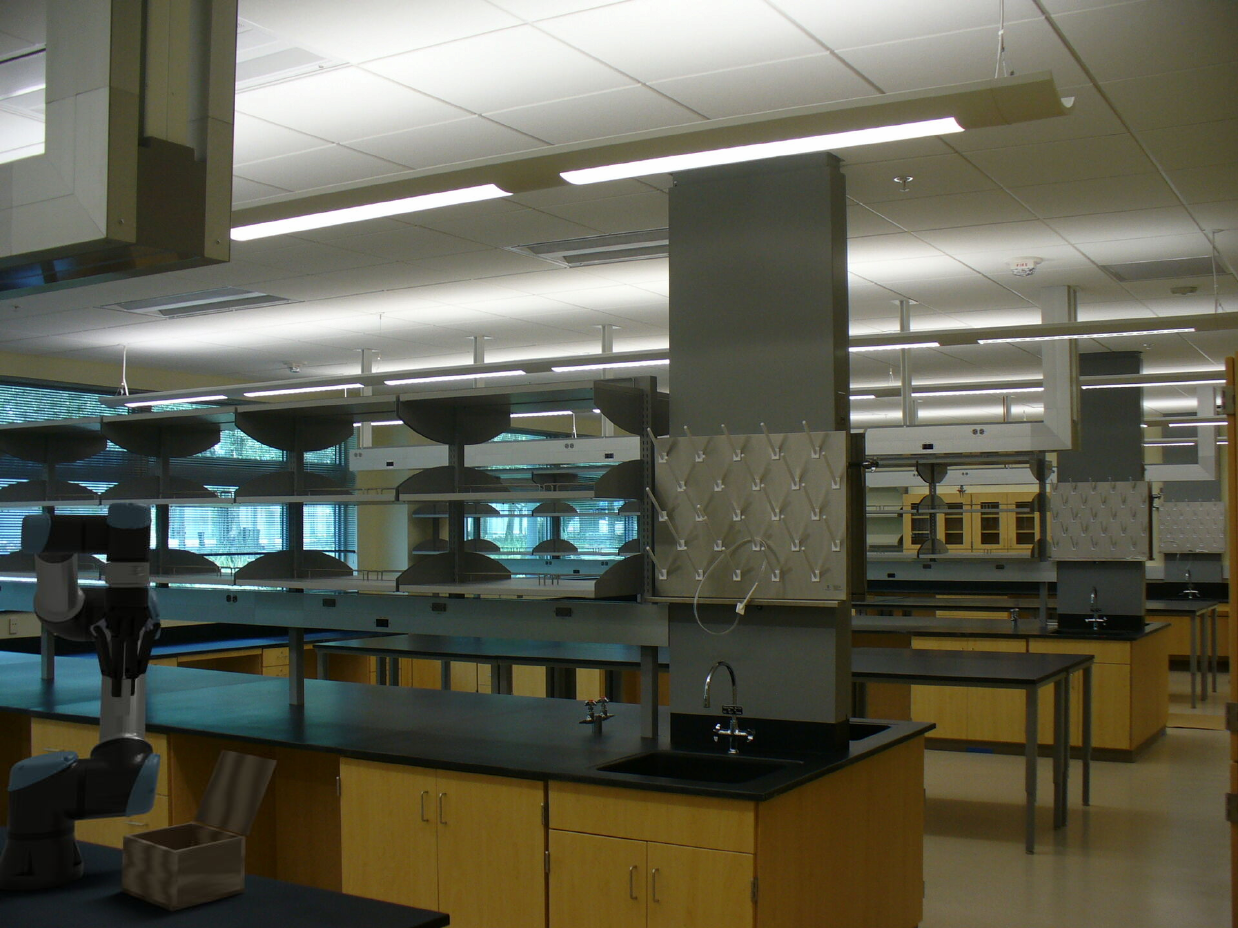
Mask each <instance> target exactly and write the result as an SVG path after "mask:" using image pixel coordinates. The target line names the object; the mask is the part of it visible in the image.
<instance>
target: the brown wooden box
mask: <svg viewBox="0 0 1238 928" xmlns="http://www.w3.org/2000/svg"><path fill="white" fill-rule="evenodd" d="M121 858H122V862H121V863H122V864H121V886H120V887H121V890H120V892H121V893H124V894H127V895H130V896H133V897H135V898H138V899H140V900H143V901H145V902H148V903H151V904H153V905H155V906H158V907H161V908H163V909H166V910H168V911H171V912H173V911H174V912H175V911H177V910H181V909H185V908H189V907H193V906H198V905H201V904H205V903H209V902H213V901H217V900H220V899H226V898H229V897H232V896H235V895H236V896H237V895H240V894H243V893H245V875H246V874H245V871H246V870H245V869H246V835H242V834H239V833H235V832H232V831H231V832H230V831H228V830H225V829H221V828H218V827H214V826H211V825H207V824H203V823H200V822H196V821H192V822H186V823H181V824H176V825H172V826H167V827H161V828H156V829H150V830H146V831H140V832H136V833H135V832H134V833H131V834H125V835H123V837H122V857H121Z"/></svg>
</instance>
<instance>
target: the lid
mask: <svg viewBox="0 0 1238 928" xmlns="http://www.w3.org/2000/svg"><path fill="white" fill-rule="evenodd" d="M277 762H278V761H277V760H275V759H271V758H265V757H260V756H256V755H252V754H246V753H242V752H236V751H231V750H225V749H222V750H221V751H220V755H219V756H218V760H217V762H216V764H215V766H214V769H213V771H212V774H211V776H210V779H209V781H208V783H207V784H208V785H207V787H206V788H205V792H204V794H203V796H202V799H201V802H200V803H199V806H198V808H197V812H196V814H195V816H194V819H193V822H196V823H200V824H203V825H207V826H211V827H214V828H218V829H221V830H225V831H228V832H230V831H231V832H232V833H235V834H239V835H242V836H247V837H248V836H249V835H250V832H251V830H252V827H253V824H254V822H255V819H256V817H257V813H258V811H259V809H260V806H261V803H262V801H263V798H264V796H265V793H266V790H267V788H268V786H269V782H270V780H271V778H272V775H273V772H274V770H275V768H276V765H277Z"/></svg>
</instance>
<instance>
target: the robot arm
mask: <svg viewBox="0 0 1238 928" xmlns="http://www.w3.org/2000/svg"><path fill="white" fill-rule="evenodd" d="M152 521H153V519H152V508H151V505H150V504H149V503H146V502H112V503H110V504H109V505H108V507H107V514H73V513H72V514H68V513H67V514H66V513H65V514H63V513H48V512H47V513H46V512H43V513H35V514H30V513H29V514H26V515H25V516H24V517H23V518H22V520H21V528H20V549H21V551H22V553H24V554H29V555H32V554H33V555H34V564H35V577H36V586H37V589H36V592H35V593H34V596H33V600H32V602H33V603H32V606H33V611H34V612H33V613H34V614H35V616H36V618H37V620H38V621H39V623H41V624H42V625H43V626H44V627H45V628H46V629H48V631H50V632H51V633H53V634H55V635H57V636H59V637H62V638H63V639H66V640H70V641H73V642H74V641H76V642H94V645H95V649H96V655H97V661H98V666H99V671H100V674H101V680H100V681H101V685H100V687H101V688H100V705H99V706H100V708H99V709H100V711H99V736H98V743H97V744H96V745H94V746H93V748H92V749H91V750H90V753H89V754H90V755H89V757H86V758H79V755H78V752H77V751H76V750H75V751H74V750H67V751H56V752H48V753H43V754H40V755H35V756H31V757H28V758H25V759H23V760H20V761H18V762H16V763H15V764H14V765H13V766H12V767H11V768H10V772H9V773H10V774H9V781H8V787H7V791H8V802H7V803H8V808H7V825H6V842H5V845H4V847H3V850H2V853H1V855H0V889H1V890H4V891H5V890H6V891H33V890H34V891H36V890H43V889H49V888H54V887H58V886H59V887H60V886H63V885H67V884H70V883H73V882H76V881H78V880H79V879H81V878H82V877H83V876H84V862H83V857H82V854H81V851H80V848H79V845H78V842H77V838H76V833H75V827H76V825H75V824H76V821H88V820H99V819H101V820H102V819H111V818H112V819H113V818H124V817H125V818H130V817H134V816H140V815H147V814H149V813H150V812H151V811H152V809H153V808H154V805H155V800H156V795H157V790H158V789H157V788H158V781H159V774H160V773H159V772H160V767H161V759H162V756H161V754H159V753H156V752H154V748H153V745H152V743H150V742H149V740H146V687H147V686H146V684H147V683H146V676H147V675H146V674H147V673H146V672H147V670H148V666H149V662H150V658H151V654H152V650H153V648H154V647H153V646H154V643H155V641H156V640H158V639H159V638H160V635H161V630H162V629H161V627H162V623H161V615H160V614H161V613H160V610H161V609H160V604H159V599H158V596H157V593H156V591H155V590H154V589H152V588H151V587H148V586H146V585H147V584H148V583H150V559H151V558H150V554H151V553H150V552H151V536H152V535H151V532H152ZM80 554H82V555H83V554H84V555H86V554H87V555H88V554H89V555H90V554H91V555H92V554H93V555H96V554H100V555H101V554H102V555H106V557H105V571H104V573H105V575H104V584H106V585H107V587H80V586H79V577H78V576H79V575H78V574H79V573H78V572H79V571H78V570H79V568H78V565H79V564H78V562H79V561H78V555H80Z"/></svg>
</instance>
